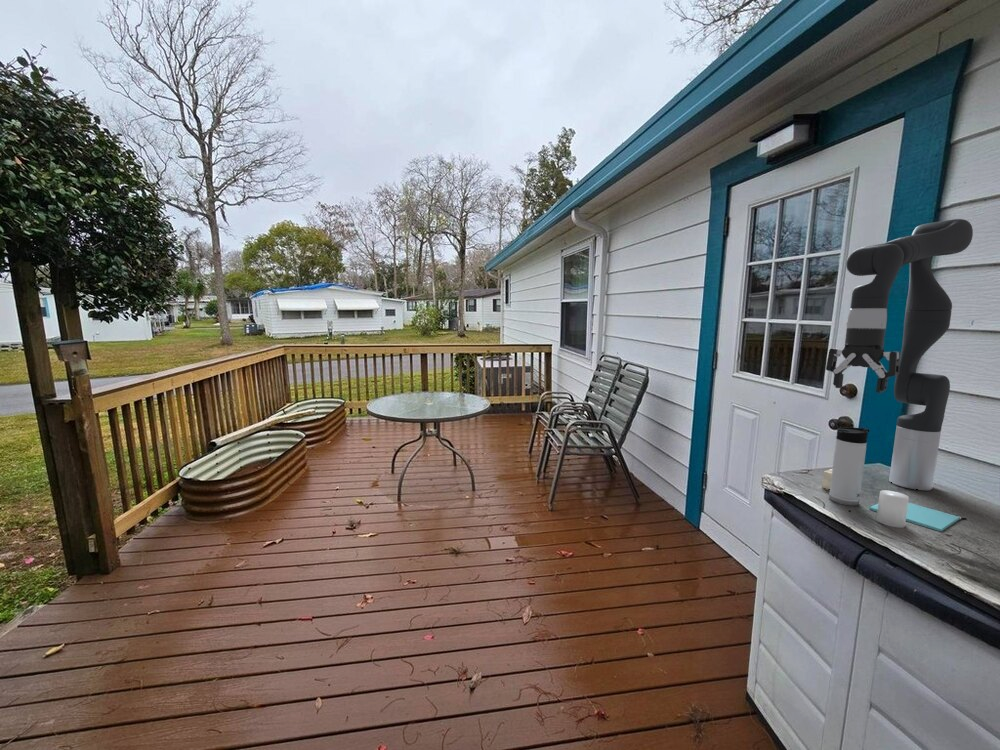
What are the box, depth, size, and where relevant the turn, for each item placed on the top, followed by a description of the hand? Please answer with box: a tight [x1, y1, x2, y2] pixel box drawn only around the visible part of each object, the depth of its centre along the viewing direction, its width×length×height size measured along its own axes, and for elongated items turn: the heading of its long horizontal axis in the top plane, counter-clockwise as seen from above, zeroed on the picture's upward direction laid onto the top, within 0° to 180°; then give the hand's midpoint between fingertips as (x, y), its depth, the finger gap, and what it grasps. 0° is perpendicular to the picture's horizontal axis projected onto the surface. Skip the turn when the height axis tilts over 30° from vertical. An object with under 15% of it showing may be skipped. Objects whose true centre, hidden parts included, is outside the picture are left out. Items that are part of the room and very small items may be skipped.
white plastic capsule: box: [876, 489, 910, 529], centre depth 99 cm, size 5×5×7 cm
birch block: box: [821, 468, 832, 490], centre depth 120 cm, size 5×5×5 cm
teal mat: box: [869, 502, 961, 533], centre depth 104 cm, size 13×13×1 cm
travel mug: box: [828, 426, 870, 507], centre depth 111 cm, size 6×7×20 cm
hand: (858, 390), depth 108 cm, fingers open, 8 cm apart
